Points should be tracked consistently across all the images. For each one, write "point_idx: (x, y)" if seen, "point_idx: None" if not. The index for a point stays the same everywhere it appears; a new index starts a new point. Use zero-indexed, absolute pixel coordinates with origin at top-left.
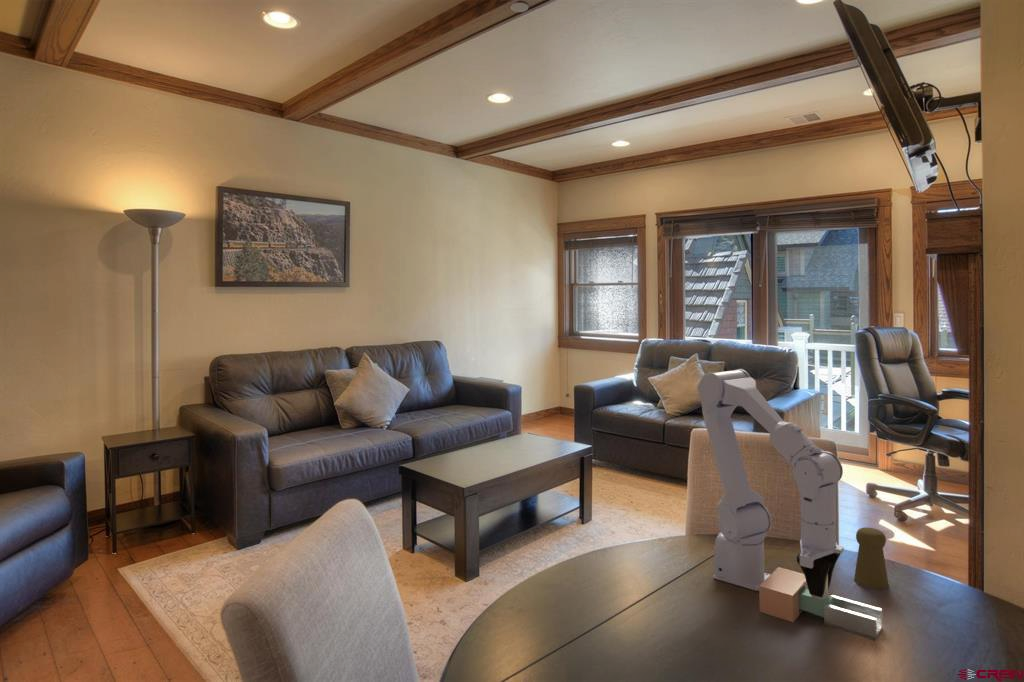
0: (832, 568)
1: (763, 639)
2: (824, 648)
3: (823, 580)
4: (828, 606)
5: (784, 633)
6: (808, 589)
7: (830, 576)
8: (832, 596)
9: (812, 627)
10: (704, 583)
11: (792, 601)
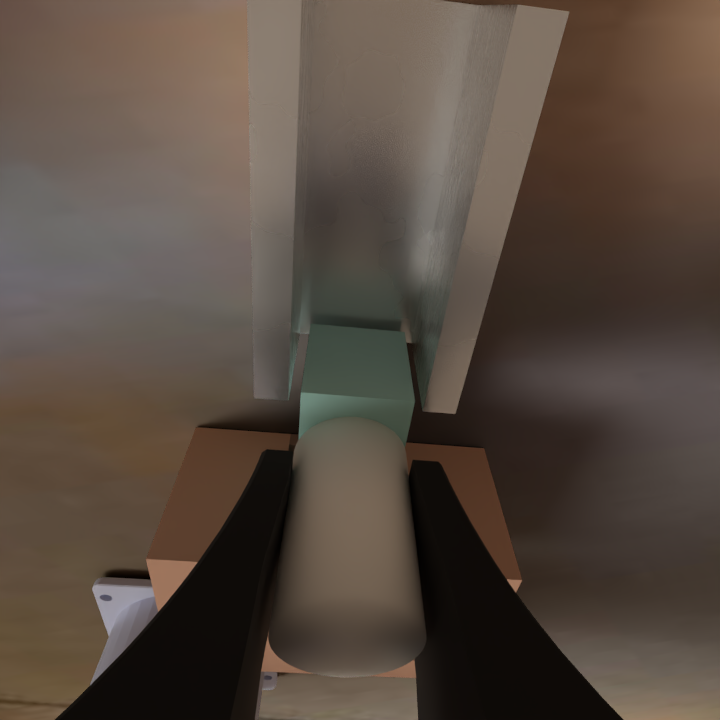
0: (245, 624)
1: (687, 501)
2: (711, 293)
3: (521, 604)
4: (460, 391)
5: (607, 456)
6: (217, 493)
7: (270, 544)
8: (303, 397)
9: (494, 375)
10: (328, 683)
11: (511, 545)
